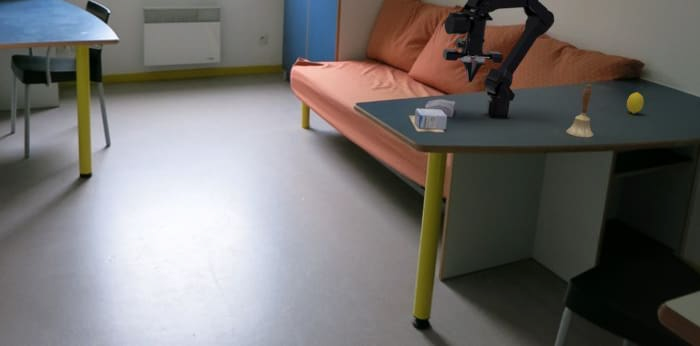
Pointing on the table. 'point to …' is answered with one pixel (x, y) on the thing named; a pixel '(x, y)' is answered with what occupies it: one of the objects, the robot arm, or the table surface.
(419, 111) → the medicine box
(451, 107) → the stone block
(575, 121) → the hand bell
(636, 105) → the lemon
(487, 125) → the table surface
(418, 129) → the cork pad
